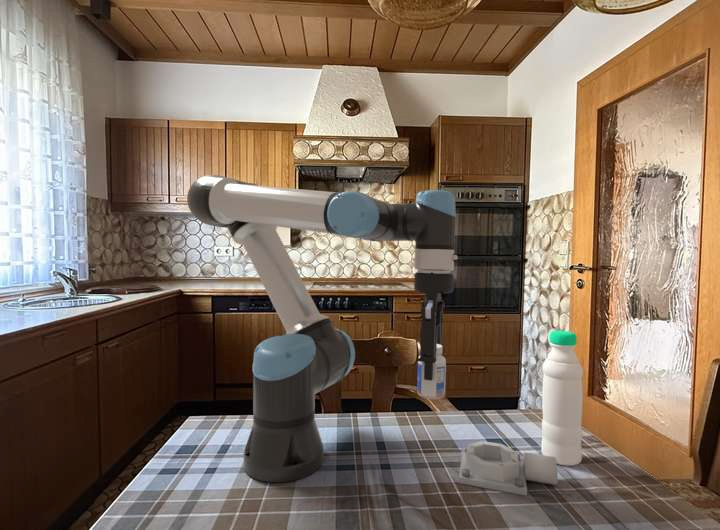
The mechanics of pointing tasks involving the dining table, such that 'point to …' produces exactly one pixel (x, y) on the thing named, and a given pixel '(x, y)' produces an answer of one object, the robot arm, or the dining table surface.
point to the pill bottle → (440, 375)
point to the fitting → (504, 468)
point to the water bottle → (562, 401)
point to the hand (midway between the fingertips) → (430, 390)
